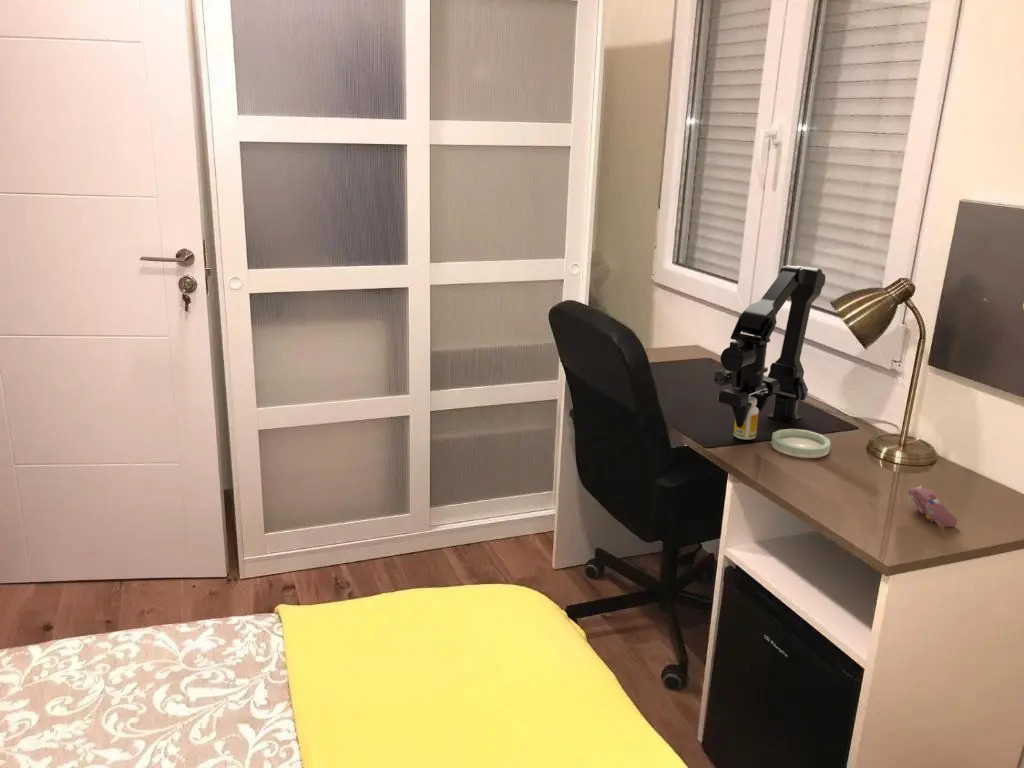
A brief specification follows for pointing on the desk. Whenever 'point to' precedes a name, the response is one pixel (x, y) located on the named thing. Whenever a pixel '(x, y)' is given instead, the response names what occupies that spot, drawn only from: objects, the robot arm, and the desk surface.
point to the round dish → (800, 443)
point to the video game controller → (931, 506)
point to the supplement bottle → (748, 422)
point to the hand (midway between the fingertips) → (745, 424)
